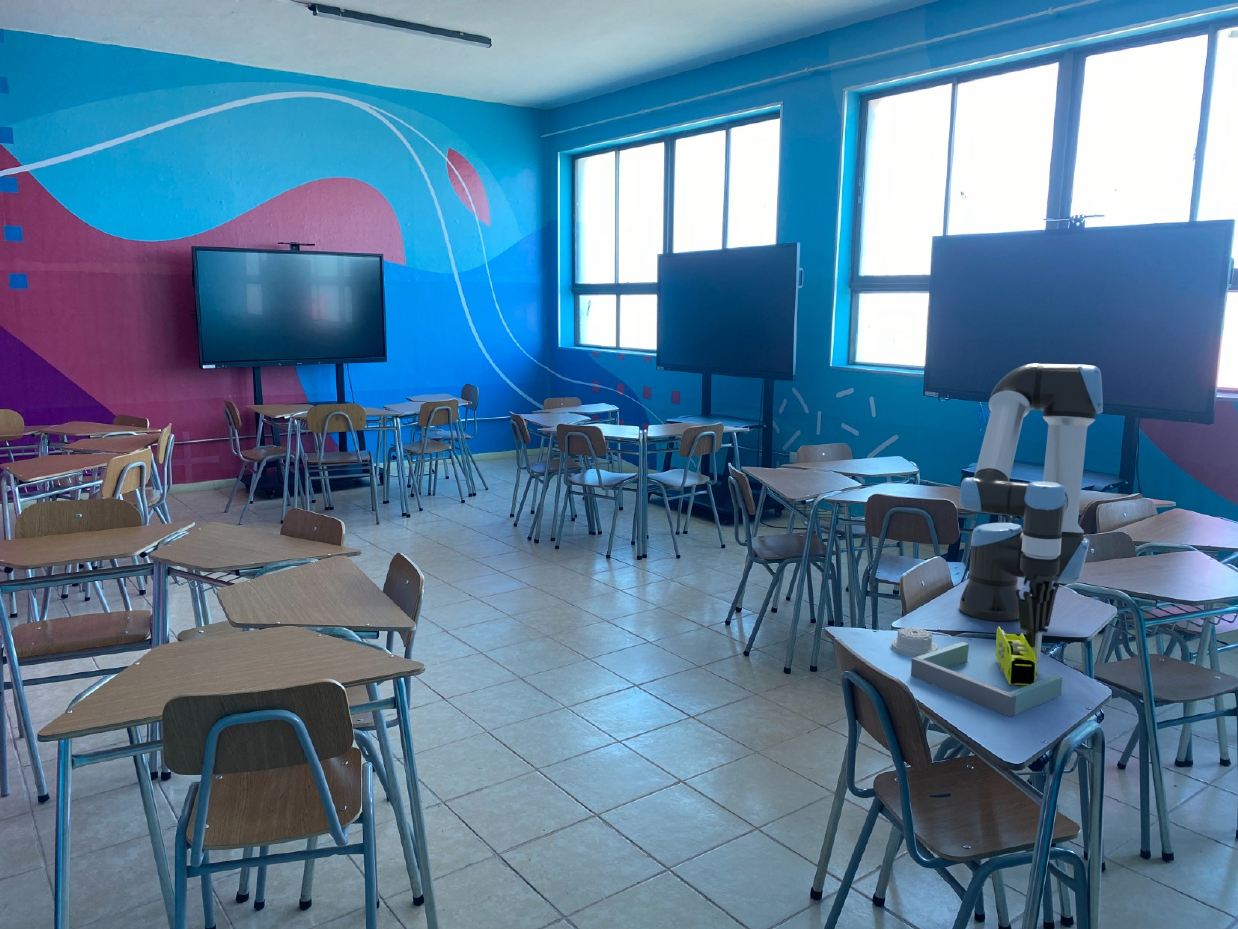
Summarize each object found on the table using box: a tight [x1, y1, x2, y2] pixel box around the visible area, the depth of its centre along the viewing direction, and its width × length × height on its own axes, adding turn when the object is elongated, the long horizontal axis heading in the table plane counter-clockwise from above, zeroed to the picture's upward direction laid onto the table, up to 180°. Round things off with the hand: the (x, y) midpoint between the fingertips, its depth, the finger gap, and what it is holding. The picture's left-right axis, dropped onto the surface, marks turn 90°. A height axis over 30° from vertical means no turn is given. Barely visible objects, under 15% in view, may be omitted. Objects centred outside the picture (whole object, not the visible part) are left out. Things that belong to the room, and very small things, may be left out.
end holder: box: [910, 641, 1064, 718], centre depth 180 cm, size 18×23×4 cm
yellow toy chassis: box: [995, 626, 1038, 687], centre depth 185 cm, size 16×6×8 cm, turn 166°
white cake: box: [890, 626, 938, 658], centre depth 200 cm, size 10×4×10 cm
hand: (1032, 659), depth 189 cm, fingers closed
